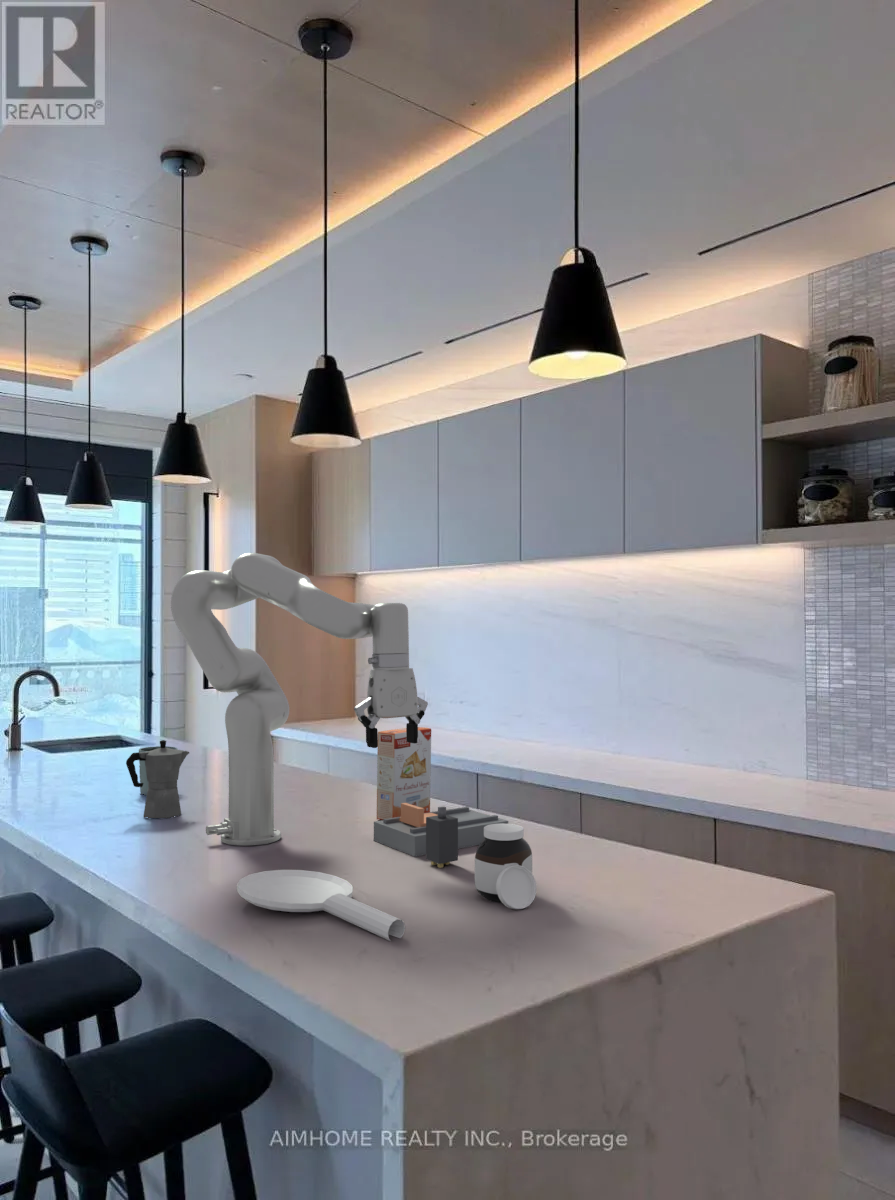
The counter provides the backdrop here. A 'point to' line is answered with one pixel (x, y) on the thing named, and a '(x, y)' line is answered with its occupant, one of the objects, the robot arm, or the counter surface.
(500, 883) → the spread jar
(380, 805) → the cracker box
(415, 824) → the tan l-shaped bracket
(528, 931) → the counter surface
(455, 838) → the plug
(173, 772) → the coffeepot
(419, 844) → the socket block
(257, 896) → the frying pan
